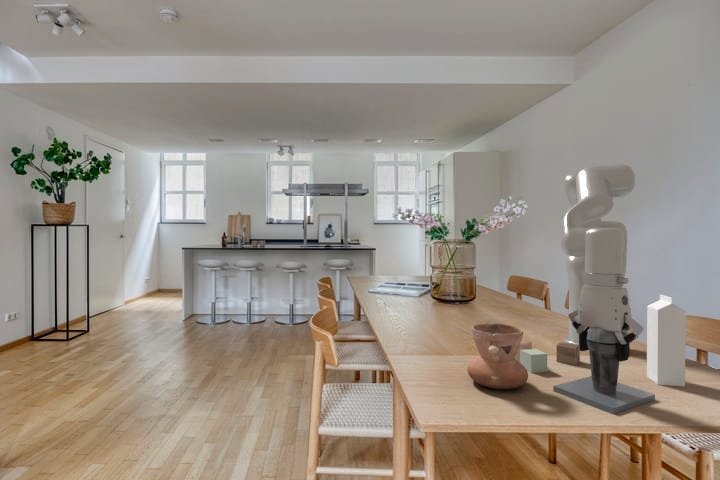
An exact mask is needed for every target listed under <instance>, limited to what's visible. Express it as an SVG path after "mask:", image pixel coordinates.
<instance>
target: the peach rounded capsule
mask: <svg viewBox="0 0 720 480" xmlns="http://www.w3.org/2000/svg"><path fill="white" fill-rule="evenodd" d="M525 349H533V342H531V341H529V340H526V339H522V340H521V343H520V346H519V349H518V351H517V353H516V355H515V357H514V358H515V359H516V360H517V361H518V362H519V363H520V350H525Z"/></svg>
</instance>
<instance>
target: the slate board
mask: <svg viewBox="0 0 720 480" xmlns="http://www.w3.org/2000/svg"><path fill="white" fill-rule="evenodd" d="M552 391H553V392H555V393H557V394H560V395H562V396H565V397H568V398H570V399H574V400H576V401H578V402H581V403H584V404H587V405H588V406H591V407H594V408H597V409H598V410H601V411H603V412H607V413H609V414H612V415H614V414H617V413H621V412H623V411H627V410H629V409H632V408H635V407H638V406H640V405H644V404H647V403H649V402H653V401H655V400H656V394H655V393H651V392H649V391H645V390H642V389H640V388H637V387H633V386H630V385H627V384H624V383H620V382H617V387H616V393H615V394H603V393H599V392H597V391H595V390H594V389H593V383H592V375H590V376H586V377H583V378H580V379H574V380H572V381H568V382H567V381H566V382H563V383H559V384H555V385H553V390H552Z"/></svg>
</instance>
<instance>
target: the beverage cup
mask: <svg viewBox="0 0 720 480" xmlns="http://www.w3.org/2000/svg"><path fill="white" fill-rule="evenodd" d="M586 340H587V344H588V348H589V350H588V355H589V364H590V365H589V366H590V374H591V375H590V376H592V383H593V389H594V390H595V391H597V392H599V393H603V394H615V393H616V387H617V383H618V377H619V369H620V368H619V367H620V361H618V360H617V344H618V343H620V341H619V340H618V338H617V336H616V335H615V333H614V332H610V331H607V330H604V329H602V328H599V327H592V328H591V329H590V330H589V332H588V334H587V339H586Z"/></svg>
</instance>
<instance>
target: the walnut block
mask: <svg viewBox="0 0 720 480" xmlns="http://www.w3.org/2000/svg"><path fill="white" fill-rule="evenodd" d="M580 352H581V351H580V346H579V345H577V344H571V343H566V342H564V341H561V342H559V343H558V344H556V359H555V360H556V362H557V363H562V364H566V365H570V366H571V365H572V366H576V365H577V364H579V363H580V361H581V355H580V354H581V353H580Z"/></svg>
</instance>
